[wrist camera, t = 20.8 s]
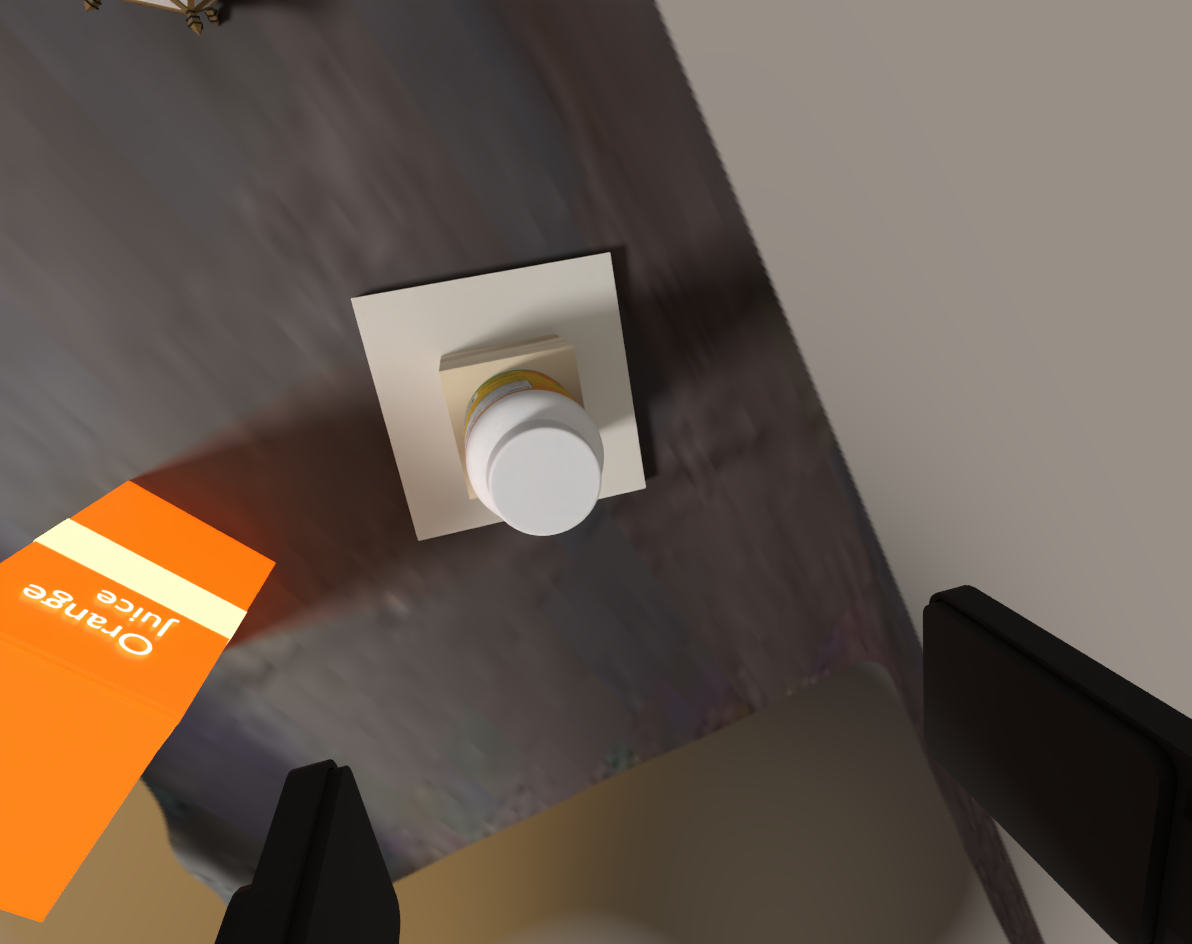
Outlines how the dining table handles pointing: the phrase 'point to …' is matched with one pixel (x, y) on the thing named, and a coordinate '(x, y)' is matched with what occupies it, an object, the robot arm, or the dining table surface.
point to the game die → (175, 9)
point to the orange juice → (102, 671)
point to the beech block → (480, 364)
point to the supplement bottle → (532, 452)
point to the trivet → (482, 319)
